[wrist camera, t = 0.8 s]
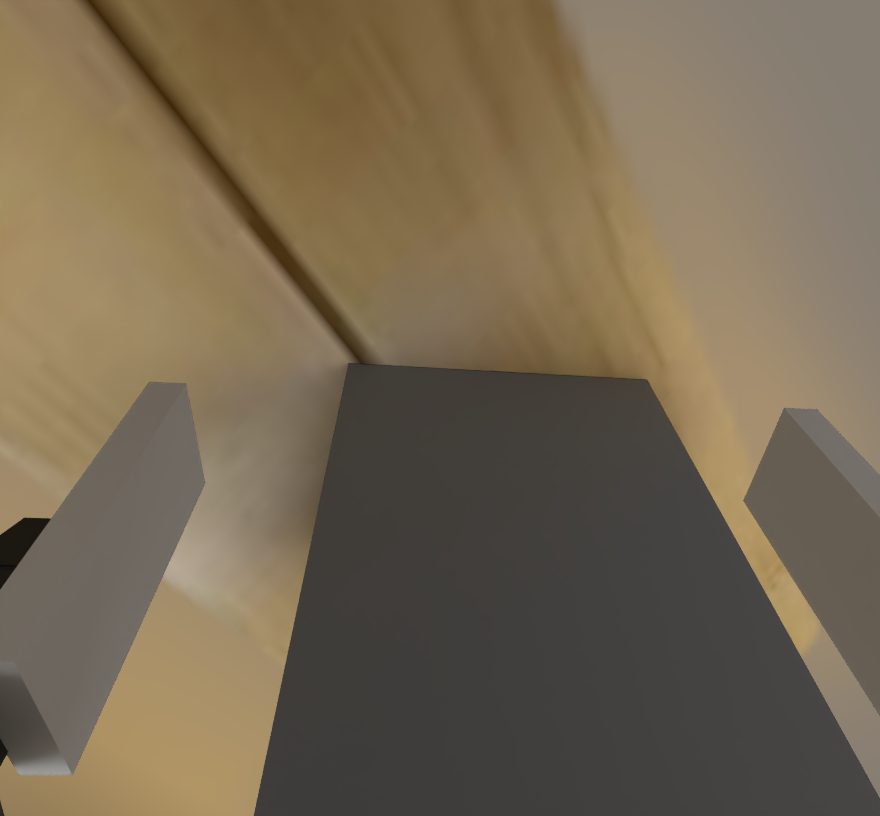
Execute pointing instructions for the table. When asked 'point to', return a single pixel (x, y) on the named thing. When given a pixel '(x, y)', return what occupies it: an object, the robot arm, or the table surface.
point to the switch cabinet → (537, 620)
